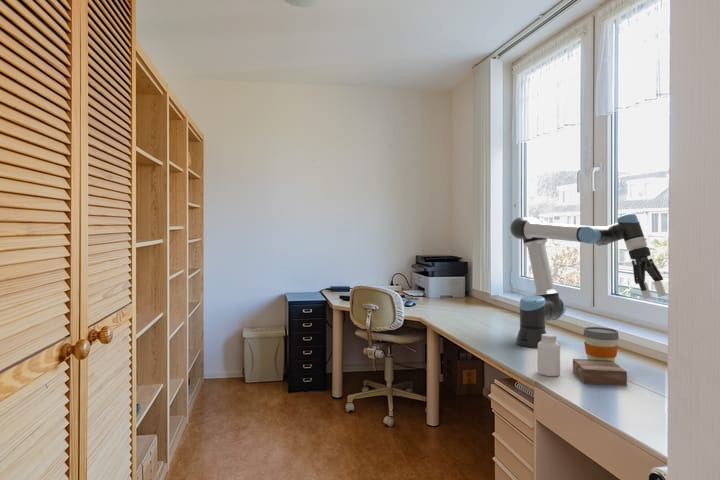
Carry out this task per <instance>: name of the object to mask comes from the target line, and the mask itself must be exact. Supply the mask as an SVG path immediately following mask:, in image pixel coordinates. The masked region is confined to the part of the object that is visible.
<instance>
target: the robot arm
mask: <svg viewBox="0 0 720 480" xmlns="http://www.w3.org/2000/svg"><path fill="white" fill-rule="evenodd" d="M616 221H617V222H616V223H613V224H610V225H607V226H597V225H594V226H593V225H581V224H580V225H579V224H578V225H577V224H566V223H555V222H554V223H551V222H547V221H545V220H544V219H543V218H541V217H540V218H539V217H537V216H535V217H534V216H533V217H527V216H526V217H525V216H521V217H517V218H515V219H513V220H512V222H511V224H510V227H509V229H510V232H511V235H512V236H513V237H515V238H516V239H517V240H522V241H523V245H524V246H525V247H527V251H528V255H529V256H528V257H529V261H530V266H531V270H532V275H533V281H534V286H535V291H536V292H535V294H534V295H529V296H527V295H526V296H523V297H521V298H520V301H519V330H518V333H517V334H516V340H515V341H516V344H517V345H518V346H521V347H526V348H535V349H536V348H537V349H538V343H539V342H540V341H542V340H541V339H542V334H548V333H547V331H546V322H549V321H557V320H558V319H561V318H562V317H563V316H564V314H565V313H566V309H567V308H566V307H567V306H566V303H565V301H564V300H563V299H562V298H561V297H560V296H559V295H560V294H559V292H558V291H557V290H555V287H554V282H553V281H554V280H553V277H552V273H551V268H550V264H549V259H548V258H549V257H548V253H547V247H546V244H547V242H548V239H549V240H556V241H557V240H559V241H565V242H567V241H569V242H578V243H584V244H591V245H592V244H595V245H597V246H598V247H600V246H601V247H602V246H604V245H605V246H607V245H608V244H611V243H615V242H616V241H617V242H618V241H621V240H624V243H625V247H626V250H627V251H628V255H629V257H630V260H631V264H632V270H633V278H634V283H635V285H639V289H640V291H641V294H642V298H643V300H647V299H652V294H651V291H650V289H649V286H648V283H647V282H646V272H647V274H648V275H649V276H650V278H651V279H652V280H653V285H654V287H655V290H656V293H657V295H658V297H659V298H660V297H666V296H667V292H666V291H665V288H664V286H663V283H662V281H663V280H664V277H663V276H662V273H661V272H660V271H659V269H658V268H657V266H656V264H655V263H654V260H653V258H648V257H650V256H651V254H652V253H651V251H650V248H649V247H648V244H647V243H648V242H647V238H646V237H645V235H644V232H643V229H642V227H641V223H640V221H639V219H638V217H637V214H635V213H633V212H632V213H626V214H623V215H621V216H620V215H619V216H618V217H617V218H616Z"/></svg>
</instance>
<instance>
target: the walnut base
mask: <svg viewBox="0 0 720 480" xmlns="http://www.w3.org/2000/svg"><path fill="white" fill-rule="evenodd" d="M572 372H573V373H574V375H576V376H577V377H578V378H579V379H580V380H581V382H583V383H584V384H593V385H595V384H596V385H611V386H627V385H628V371H627V370H625V368H622V367H621V366H620V365H619V364H618V363H617V362H613V361H609V360H589V359H588V358H587V359H584V358H572Z"/></svg>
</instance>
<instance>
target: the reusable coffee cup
mask: <svg viewBox="0 0 720 480" xmlns="http://www.w3.org/2000/svg"><path fill="white" fill-rule="evenodd" d="M583 336H584V342H583V343H584V344H583V345H584V351H585V354H586V357H587V359H589V360H609V361H613V362H614V363H616V362H615V361H616V357H617V356H618V348H619V345H618V340H619V339H620V336H619V331H618V330H615V329H613V328H609V327H601V326H599V327H598V326H587V327H584V329H583Z"/></svg>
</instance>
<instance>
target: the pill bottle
mask: <svg viewBox="0 0 720 480" xmlns="http://www.w3.org/2000/svg"><path fill="white" fill-rule="evenodd" d="M541 340H542V341H540V342H539V343H538V348H537V373H538V374H539V375H541V376H545V377H558V376H560V374H561V346H560V345H561V344H559V342H557V335H556V334H552V333H547V334H542V339H541Z"/></svg>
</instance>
